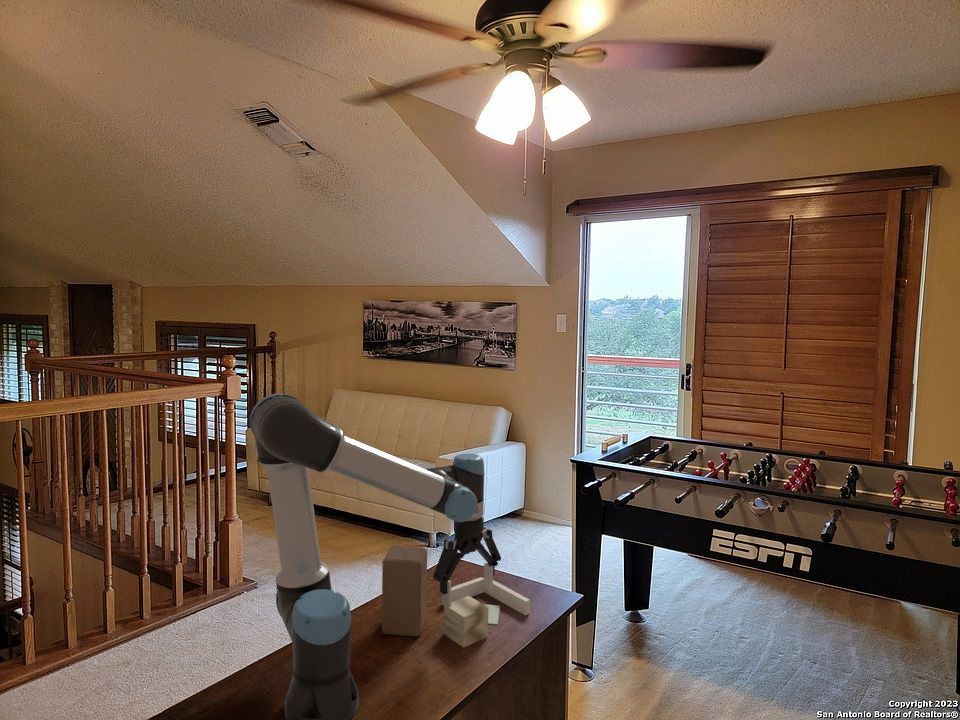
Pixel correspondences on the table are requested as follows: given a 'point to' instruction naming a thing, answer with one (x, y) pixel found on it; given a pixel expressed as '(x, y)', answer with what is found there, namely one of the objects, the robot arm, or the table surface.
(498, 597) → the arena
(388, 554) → the wooden block
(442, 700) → the table surface
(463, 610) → the birch cube
